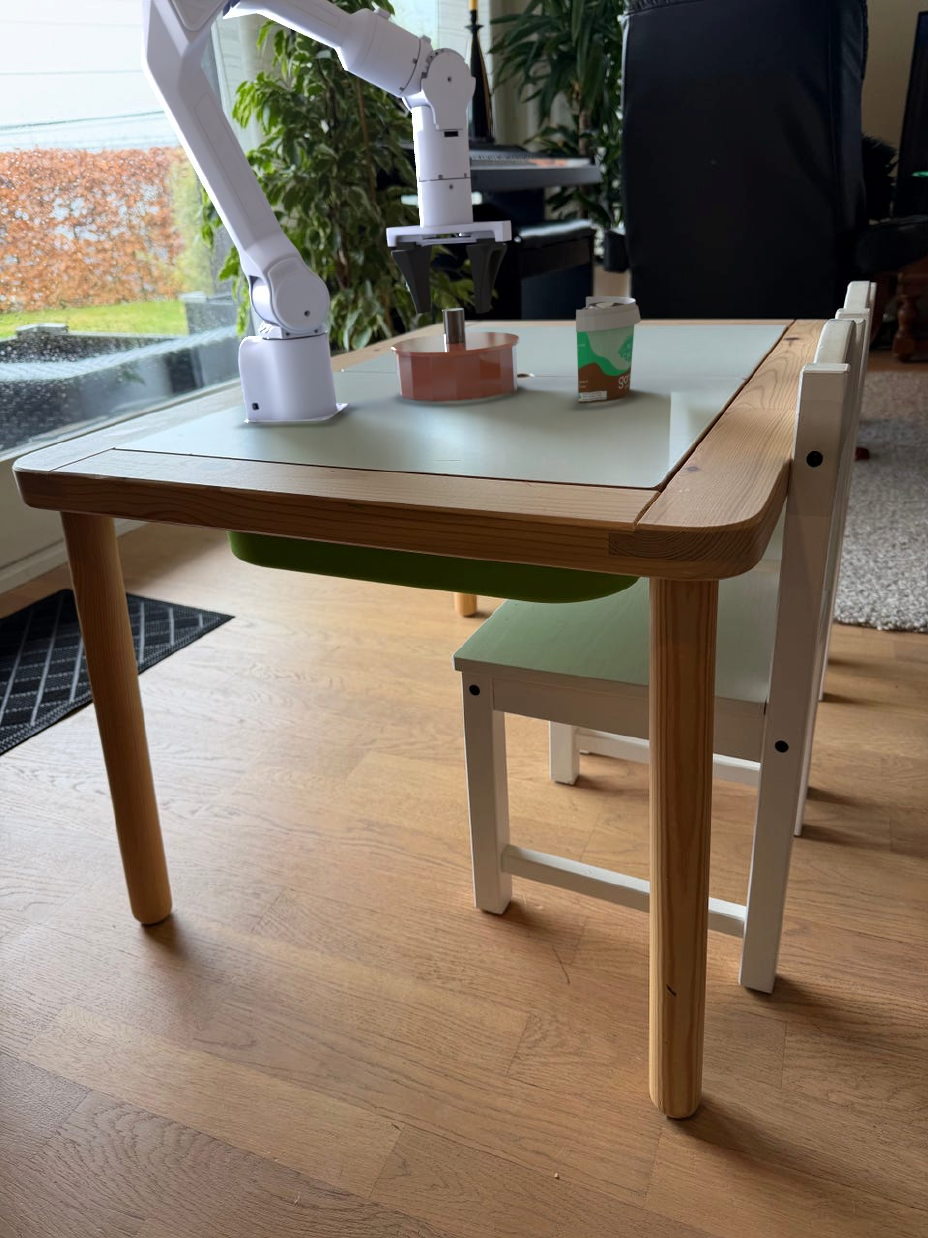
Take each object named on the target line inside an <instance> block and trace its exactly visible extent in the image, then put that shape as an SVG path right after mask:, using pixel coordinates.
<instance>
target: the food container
mask: <svg viewBox="0 0 928 1238" xmlns="http://www.w3.org/2000/svg"><path fill="white" fill-rule="evenodd" d="M636 303H637V302H636V299H635V298H632V297H629V296H628V297H627V296H613V295H612V296H611V295H610V296H609V295H608V296H607V295H604V296H603V295H602V296H599V295H597V296H586V297H585V307H583V308H582V309H576V310H575V316H576V317H575V333H576V355H577V356H576V357H577V359H576V360H577V388H578V389H577V390H578V391H577V393H578V395H577V396H578V404H593V403H594V404H595V403H603V402H608V401H614V400H615V401H616V400H618V399H622V398H625V397H627V396H628V395H630V392H631V391H630V390H631V378H632V377H631V375H632V363H633V349H634V339H635V338H634V335H635V325H638V324H639V323H641V321H642V320H641V315H640V309H639V305H637V304H636Z"/></svg>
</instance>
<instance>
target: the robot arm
mask: <svg viewBox="0 0 928 1238" xmlns="http://www.w3.org/2000/svg"><path fill="white" fill-rule="evenodd" d="M141 8H142V9H141V10H142V11H141V66H142V69H143V72H144V75H145V76H146V78H147V81H148V82H149V84H150V86H151V88H152V90H153V91H154V93H155V96H156V97H157V100H158V101H159V103H160V106H161V107H162V109H163V110H164V113H165V114H166V117H167V118H168V120H169V122H170V124H171V126H172V128H173V129H174V132H175V134H176V136H177V137H178V139H179V142H180V143H181V145H182V147H183V149H184V150H185V152H186V155H187V157H188V159H189V160H190V162H191V164H192V166H193V168H194V170H195V171H196V174H197V175H198V178H199V179H200V181H201V183H202V186H203V187H204V189H205V191H206V193H207V194H208V196H209V198H210V200H211V202H212V205H213V206H214V208H215V210H216V211H217V214H218V215H219V217H220V219H221V221H222V223H223V225H224V227H225V229H226V230H227V232H228V234H229V236H230V238H231V240H232V243H233V244H234V246H235V248H236V250H237V252H238V255H239V256H238V257H239V262H240V266H241V269H242V272H243V273H244V276H245V277H246V280H247V283H248V287H249V288H248V289H249V290H248V291H249V301H250V304H251V307H252V309H253V312H254V313H255V315H256V316H257V317H258V318H259V319H260V320H261V321H262V322H261V323H260V324H261V325H260V327H259V329H258V330H257V331H258V336H257V335H255V336H248V337H244V339H243V340H242V341H241V343H240V345H239V348H238V357H237V360H238V363H237V364H238V371H239V378H240V384H241V390H242V397H243V402H244V409H245V414H246V415H245V416H246V419H245V420H244V423H264V422H270V423H271V422H307V421H308V422H309V421H311V422H312V421H327V420H329V419H331V418H332V417H334V416H335V415H337V414H338V413H340V412H341V411H342V410H344V409H345V408H346V407H348V406H349V405H350V404H349V403H337V397H336V388H335V381H334V380H335V379H334V373H333V364H332V357H331V356H332V355H331V348H330V339H329V331H328V326H327V325H326V324H324V322H325V321H326V319H327V318H328V315H329V311H330V307H331V299H330V292H329V289H328V287H327V285H326V282H324V279H322V278H321V277H320V276H319V275H318V274H317V273H315V272H314V271H313V270H312V269H310V267H308V265H307V264H306V263H305V261H304V259H303V257H302V255H301V254H300V251H299V250H298V249H297V247H296V245H294V243H293V242H292V241H291V240H290V239H289V237H288V236H287V235H286V234H285V232H284V231H283V229H282V226H281V225H280V222H279V221H278V219H277V217H276V214H275V212H274V211H273V209H272V206H271V204H270V203H269V200H268V198H267V196H266V194H265V192H264V190H263V188H262V186H261V185H260V183H259V180H258V178H257V176H256V175H255V172H254V170H253V168H252V166H251V163H250V162H249V160H248V158H247V156H246V154H245V152H244V149H243V148H242V146H241V144H240V142H239V140H238V138H237V136H236V134H235V132H234V129H233V128H232V126H231V124H230V122H229V119H228V118H227V115H226V114H225V112H224V110H223V107H222V106H221V104H220V101H219V99H218V97H217V95H216V94H215V92H214V90H213V87H212V86H211V83H210V81H209V79H208V77H207V75H206V73H205V71H204V69H203V66H202V61H203V58H204V56H205V55H204V54H205V51H206V48H207V45H208V42H209V38H210V35H211V28H212V26H213V24H214V23H215V21H216V20H217V18H218V17H219V15H220V14H221V13H222V18H223V19H231V18H236V17H241V16H242V17H243V16H248V15H253V14H254V15H255V14H258V15H262V16H264V17H266V18H268V19H270V20H273V21H275V22H277V23H279V24H281V25H283V26H285V27H287V28H290V29H292V30H294V31H296V32H298V33H300V34H302V35H304V36H307V37H309V38H311V39H313V40H315V41H317V42H320V43H322V44H323V45H326V46H328V47H330V48H332V49H334V50H335V51H336V53H337V55H338V58H339V60H340V62H341V64H342V67H343V68H344V70H345V71H347V72H349V73H351V74H353V75H355V76H357V77H358V78H360V79H363V80H364V81H366V82H369V83H370V84H372V85H374V86H376V87H377V88H380V89H382V90H384V91H386V92H387V93H390V94H391V95H393V96H395V97H397V98H400V99H402V101H403V104H404V105H405V107H406V109H408V111H410V113H412V114H411V115H412V127H413V141H414V142H413V143H414V154H415V155H414V156H415V166H416V168H415V169H416V180H417V194H418V208H419V219H420V225H410V226H409V225H408V226H394V227H393V226H392V227H387V228H386V240H387V247H395V250H391V252H390V254H391V258H392V260H393V261H394V262H395V264H396V266H397V267H398V269H399V271H400V272H401V274H402V277H403V278H404V280H405V283H406V285H407V287H408V290H409V292H410V295H411V298H412V301H413V304H414V307H415V312H416V314H417V315H423V314H427V313H430V312H431V311H432V295H431V282H430V278H431V277H430V276H431V273H430V272H431V259H432V253H433V245H440V244H461V243H462V244H463V243H464V244H465V243H474V244H468V245H466V246H465V248H466V249H465V251H466V253H467V257H468V260H469V265H470V270H471V275H472V282H473V299H474V309H475V313H476V314H484V313H488V312H490V311H491V303H492V297H493V293H494V292H493V291H494V287H495V286H494V285H495V282H496V278H497V275H498V273H499V269H500V266H501V264H502V261H503V259H504V257H505V255H506V253H507V250H508V244H507V243H504V242H507V241H512V223H511V220H499V221H498V220H497V221H496V220H495V221H474V213H473V198H472V197H473V196H472V181H471V180H472V179H471V163H470V146H469V130H468V129H469V128H468V114H467V111H468V110H467V109H468V106H469V104H470V103H471V100H472V98H474V97H473V96H474V94H475V90H476V84H477V83H476V81H477V80H476V77H474V76H472V73H471V72H472V71H471V69H470V67H469V64H468V63H466V62H465V61H466V58H464V56H463V55H462V54H460V53H459V52H458V51H457V50H455V49H452V48H449V47H443V48H440V47H439V48H436V49H434V48H433V45H432V44H431V43H432V38H431V37H429V36H427V35H426V34H421V35H419V36H417V35H416V34H414V33H412V32H411V31H409V30H407V29H405V28H403V27H402V26H400V25H398V24H396V23H394V21H393V22H392V21H391V20H390V16H391V13H390V12H389V11H387V10H385V9H384V8H382V7H377V8H376V9H374V10H372V9H369V8H367V7H366V8H361V9H359V10H357V11H355V12H354V13H348V12H347V11H345V10H344V9H342V8H340V7H338V6H337V5H336V4H334V3H332V2H330V1H329V0H141ZM446 234H448V235H449V234H459V237H446V238H445V237H444V238H443V237H442V238H436V237H437V235H446Z"/></svg>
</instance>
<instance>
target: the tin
mask: <svg viewBox="0 0 928 1238" xmlns="http://www.w3.org/2000/svg"><path fill="white" fill-rule="evenodd" d="M517 361H518V360H517V345H515V346H513V347H510V348H507V349H503V350H498V351H493V352H487V353H480V354H472V355H462V356H447V357H413V356H404V355H399V354H395V363H396V374H397V380H398V381H397V382H398V383H397V384H398V393H399V395H400V396H401V398H405V399H408V400H412V401H422V402H423V401H424V402H459V401H468V400H478V399H484V398H490V397H495V396H499V395H504V394H506V393H515V392H517V391H518V385H519V384H518V363H517Z"/></svg>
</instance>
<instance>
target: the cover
mask: <svg viewBox="0 0 928 1238" xmlns="http://www.w3.org/2000/svg"><path fill="white" fill-rule="evenodd" d="M442 321H443V322H442V324H443V333H440V334H439V333H437V334H430V335H423V336H418V337H413V338H407V339H404V340H401V341H398V342H396V343H394V344H392V345H391V351H392V353H393V354H395V355H396V354H399V355H404V356H413V357H447V356H462V355H472V354H480V353H487V352H493V351H498V350H503V349H507V348H510V347H513V346H515V345H516V346H517V345H519V344H520V336H518V335H516V334H514V333H510V332H509V333H508V332H500V331H468V332H467V331H466V323H465V322H466V321H465V309H464V308H463V307H455V308H446V309H443V310H442Z"/></svg>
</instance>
